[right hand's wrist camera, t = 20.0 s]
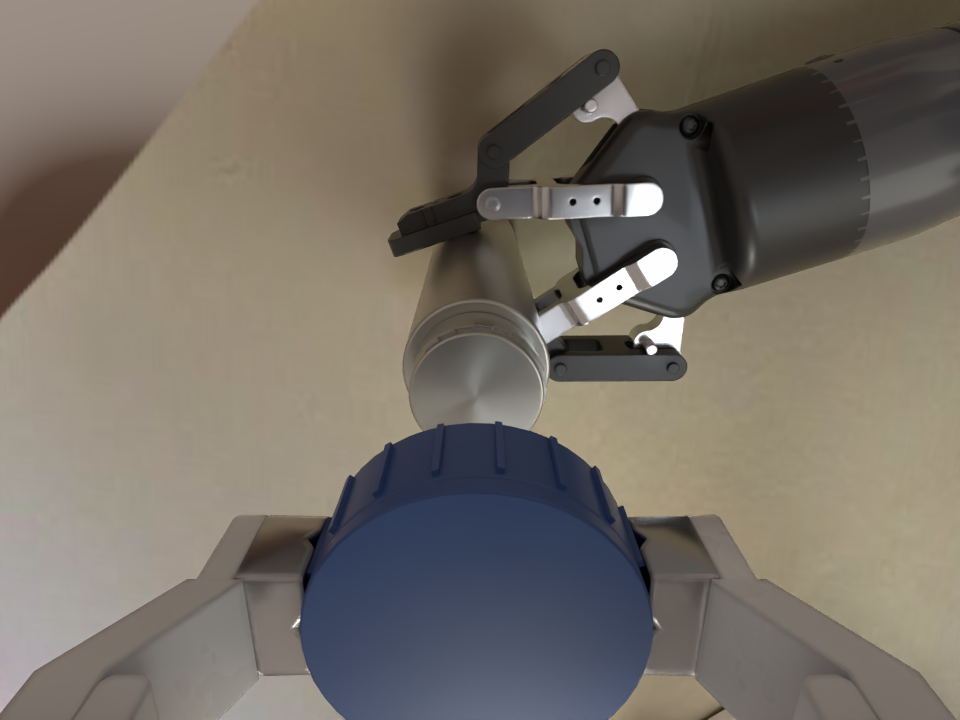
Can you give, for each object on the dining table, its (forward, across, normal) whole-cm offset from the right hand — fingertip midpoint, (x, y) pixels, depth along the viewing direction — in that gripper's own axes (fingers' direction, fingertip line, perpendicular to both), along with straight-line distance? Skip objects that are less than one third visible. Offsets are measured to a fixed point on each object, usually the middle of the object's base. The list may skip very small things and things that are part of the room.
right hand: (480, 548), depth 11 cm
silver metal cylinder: (+24, 0, 0) cm, 24 cm away
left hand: (+17, -3, 0) cm, 18 cm away
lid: (-2, 0, 0) cm, 2 cm away
